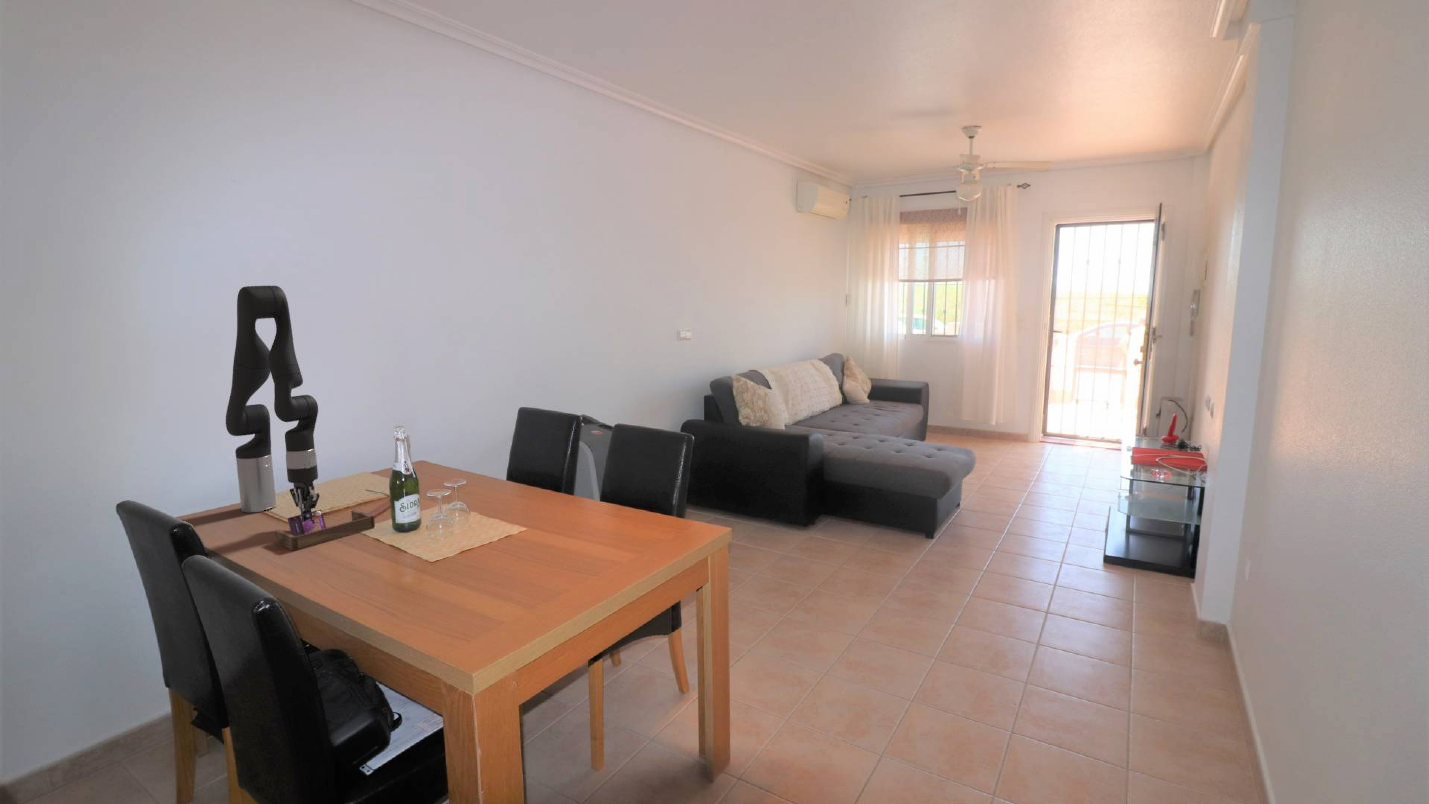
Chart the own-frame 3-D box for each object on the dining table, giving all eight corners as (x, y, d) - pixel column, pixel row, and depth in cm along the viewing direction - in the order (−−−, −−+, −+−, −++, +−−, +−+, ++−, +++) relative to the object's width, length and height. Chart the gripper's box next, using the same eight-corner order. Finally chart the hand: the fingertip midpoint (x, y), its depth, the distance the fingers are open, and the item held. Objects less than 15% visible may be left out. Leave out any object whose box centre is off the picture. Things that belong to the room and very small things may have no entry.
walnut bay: (275, 542, 183) (274, 530, 183) (355, 520, 201) (354, 509, 201) (294, 550, 178) (293, 538, 177) (374, 527, 196) (373, 516, 195)
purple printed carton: (289, 517, 184) (322, 508, 192) (280, 520, 187) (313, 511, 194) (295, 541, 184) (328, 531, 192) (286, 543, 187) (319, 534, 194)
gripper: (276, 463, 193) (282, 521, 196) (299, 470, 186) (304, 530, 189) (304, 458, 199) (309, 514, 202) (327, 465, 192) (331, 522, 195)
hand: (307, 522), depth 195 cm, fingers closed
